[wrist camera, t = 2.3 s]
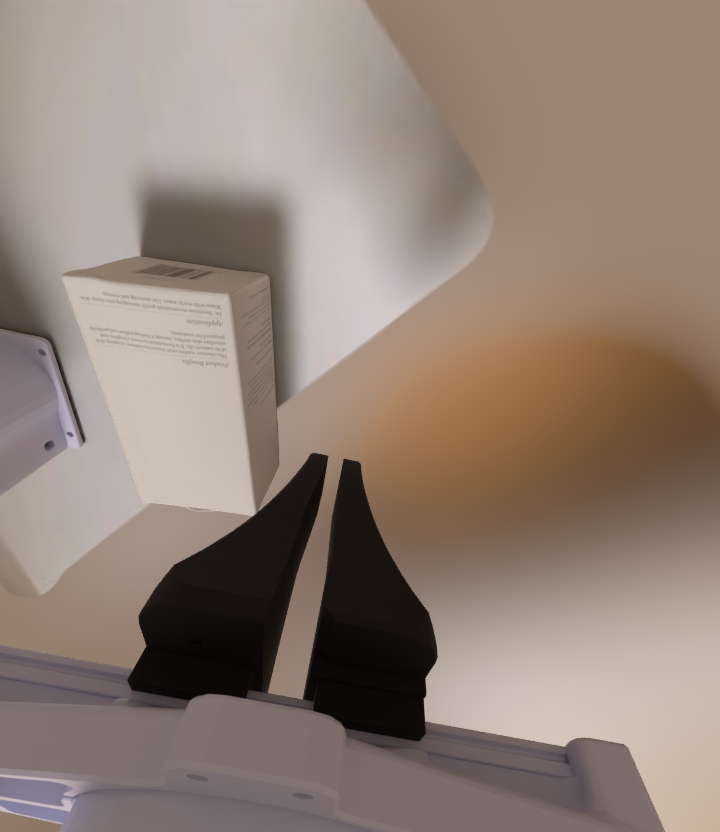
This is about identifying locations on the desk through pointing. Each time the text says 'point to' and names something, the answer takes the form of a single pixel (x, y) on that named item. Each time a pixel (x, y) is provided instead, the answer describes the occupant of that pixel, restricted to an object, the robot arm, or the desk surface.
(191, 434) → the skincare box
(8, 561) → the desk surface
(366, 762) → the robot arm
